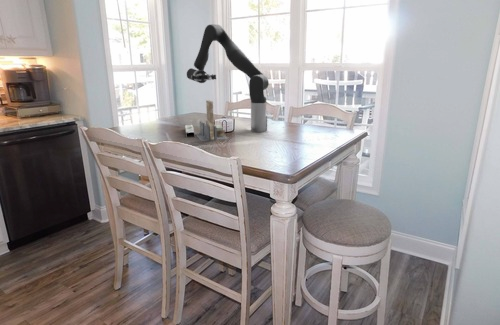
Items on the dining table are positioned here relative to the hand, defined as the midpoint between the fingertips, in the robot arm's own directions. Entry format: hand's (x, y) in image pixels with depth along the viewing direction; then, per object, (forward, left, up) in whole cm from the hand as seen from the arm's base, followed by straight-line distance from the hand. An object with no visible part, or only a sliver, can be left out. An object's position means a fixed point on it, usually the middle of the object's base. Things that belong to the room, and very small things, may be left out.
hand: (206, 77), depth 186 cm
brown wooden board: (+4, +23, -30) cm, 38 cm away
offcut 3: (-2, +13, -30) cm, 33 cm away
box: (+13, +7, -33) cm, 36 cm away
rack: (+3, +16, -32) cm, 36 cm away
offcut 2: (-2, +14, -29) cm, 32 cm away
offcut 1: (-2, +13, -27) cm, 30 cm away
